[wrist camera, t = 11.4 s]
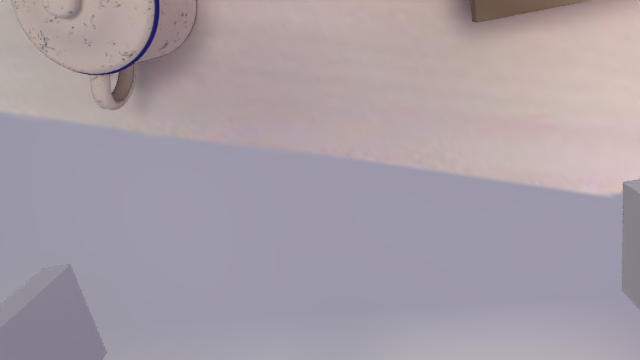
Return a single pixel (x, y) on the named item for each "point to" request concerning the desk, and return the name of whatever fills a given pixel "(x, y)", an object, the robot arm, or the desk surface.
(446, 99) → the desk surface
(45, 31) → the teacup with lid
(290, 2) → the desk surface
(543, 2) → the walnut lid
